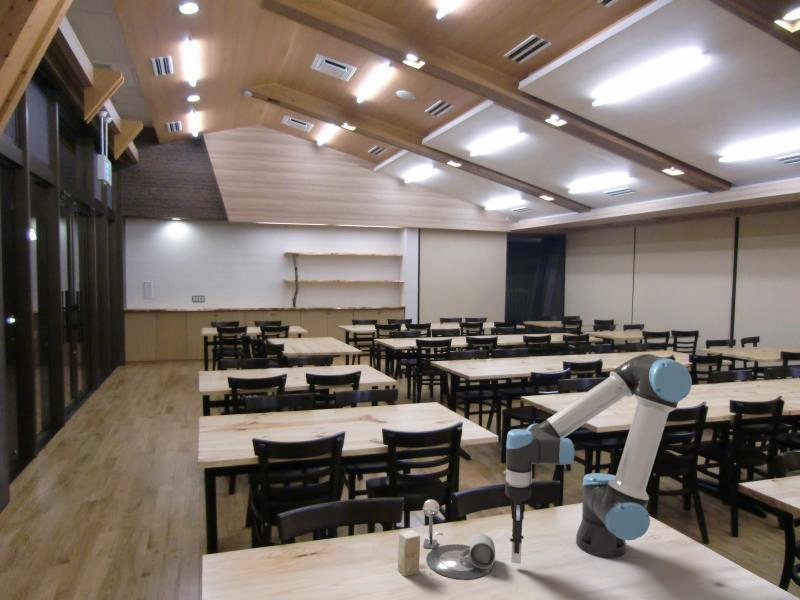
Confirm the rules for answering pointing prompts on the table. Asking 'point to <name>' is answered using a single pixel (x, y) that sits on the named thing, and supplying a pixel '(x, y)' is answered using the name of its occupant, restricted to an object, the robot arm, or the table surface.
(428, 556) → the platter
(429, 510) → the dial stand
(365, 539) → the table surface
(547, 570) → the table surface
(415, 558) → the box
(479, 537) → the ceramic mug
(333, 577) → the table surface
